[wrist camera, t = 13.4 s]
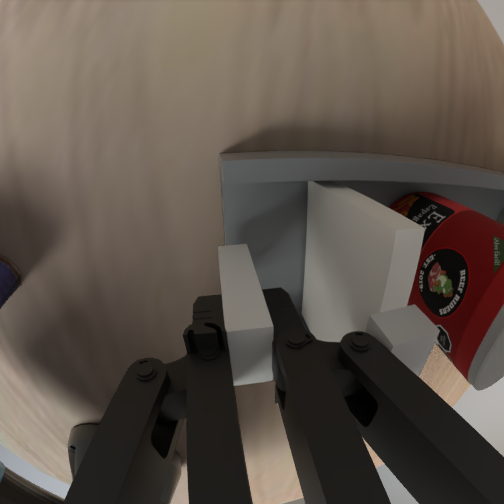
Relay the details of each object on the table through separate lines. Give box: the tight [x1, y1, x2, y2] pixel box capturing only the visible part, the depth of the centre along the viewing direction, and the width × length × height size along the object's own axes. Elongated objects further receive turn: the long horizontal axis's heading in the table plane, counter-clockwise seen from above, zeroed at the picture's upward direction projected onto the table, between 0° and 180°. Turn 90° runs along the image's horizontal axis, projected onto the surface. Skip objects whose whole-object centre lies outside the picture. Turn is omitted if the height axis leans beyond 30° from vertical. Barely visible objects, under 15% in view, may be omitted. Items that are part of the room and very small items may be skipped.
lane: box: [219, 151, 504, 333], centre depth 16 cm, size 33×12×7 cm, turn 92°
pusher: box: [302, 180, 440, 376], centre depth 12 cm, size 2×9×10 cm, turn 1°
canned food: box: [389, 192, 504, 390], centre depth 13 cm, size 8×8×11 cm
